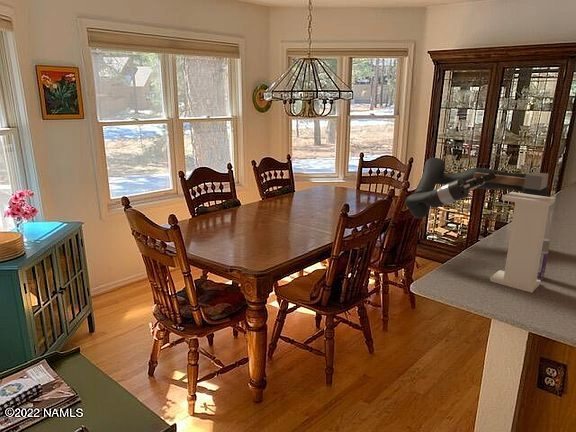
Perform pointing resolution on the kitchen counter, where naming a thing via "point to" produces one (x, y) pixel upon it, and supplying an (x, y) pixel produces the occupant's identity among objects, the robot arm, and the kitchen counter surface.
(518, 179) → the mallet
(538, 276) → the container
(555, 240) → the kitchen counter surface
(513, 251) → the stand
